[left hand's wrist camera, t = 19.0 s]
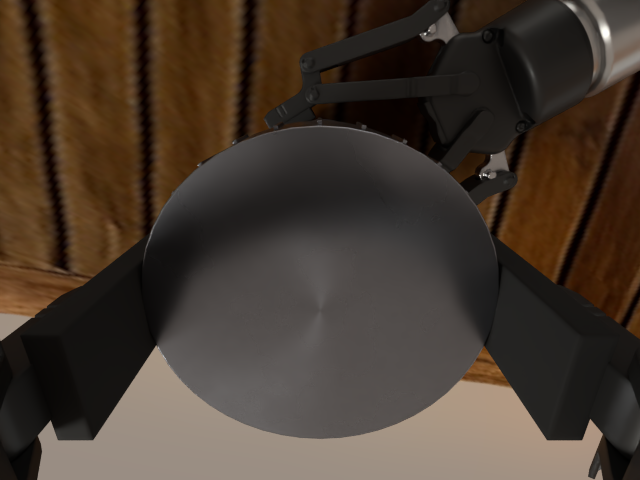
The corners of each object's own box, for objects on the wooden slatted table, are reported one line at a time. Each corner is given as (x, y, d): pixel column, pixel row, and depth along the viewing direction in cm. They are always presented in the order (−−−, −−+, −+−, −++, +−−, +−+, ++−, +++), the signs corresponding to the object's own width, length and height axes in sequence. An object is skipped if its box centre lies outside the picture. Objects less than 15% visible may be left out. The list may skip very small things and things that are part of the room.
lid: (142, 117, 10) (100, 122, 8) (497, 117, 10) (540, 120, 8) (189, 392, 14) (168, 440, 12) (450, 392, 14) (472, 440, 12)
